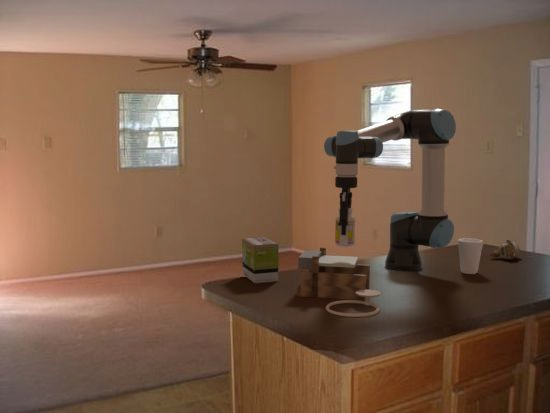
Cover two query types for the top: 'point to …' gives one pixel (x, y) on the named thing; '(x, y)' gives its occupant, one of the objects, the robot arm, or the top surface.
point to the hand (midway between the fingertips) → (344, 242)
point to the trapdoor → (325, 260)
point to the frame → (334, 281)
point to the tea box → (260, 259)
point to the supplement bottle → (350, 229)
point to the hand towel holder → (361, 293)
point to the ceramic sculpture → (507, 250)
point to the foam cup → (469, 254)
